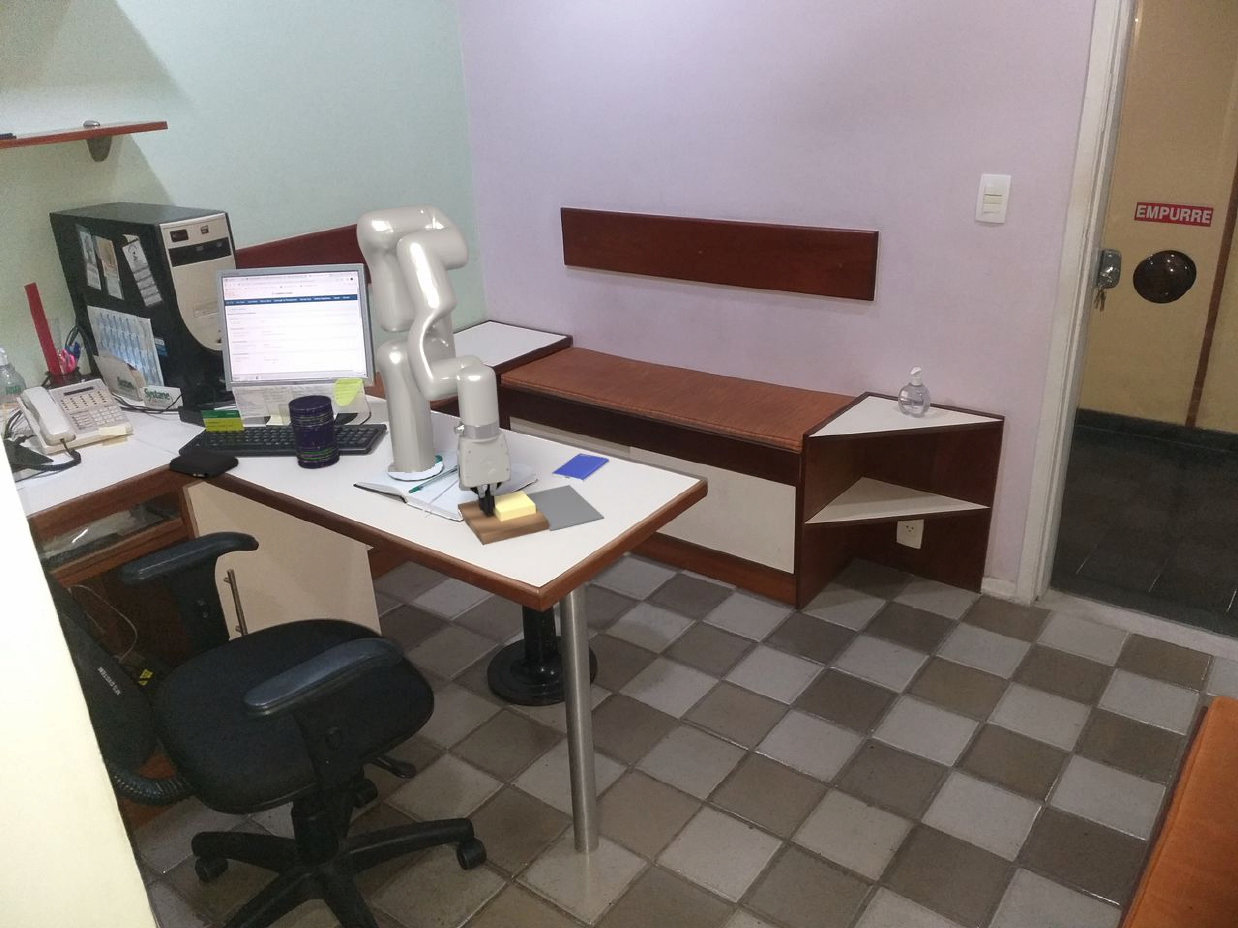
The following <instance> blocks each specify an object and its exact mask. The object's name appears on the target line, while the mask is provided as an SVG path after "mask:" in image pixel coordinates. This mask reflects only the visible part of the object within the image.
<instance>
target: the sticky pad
mask: <svg viewBox="0 0 1238 928" xmlns="http://www.w3.org/2000/svg"><path fill="white" fill-rule="evenodd" d="M512 492H513V491H512ZM512 492H507V493H508V494H507V493H503V494H504V495H503V494H500V496H498V495H494V496H495V497H494V498H495V507H493V513H494V514H495V515H496V516H497V517H498V518H499V520H500V521H505V520H509V519H513V518H517V517H522V516H526V515H530V514H534V513H536V507H535V504H534V503H533V502H532V500H531V499H530V498H529V497H528V496H527V495H526V493H525V492H524V490H517V491H514V492H513V493H512Z"/></svg>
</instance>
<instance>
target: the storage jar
mask: <svg viewBox="0 0 1238 928" xmlns="http://www.w3.org/2000/svg"><path fill="white" fill-rule="evenodd" d="M287 404H288V405H287V406H288V411H289V421H290V426H291V428H292V429H293V435H294V447H295V449H294V450H295V455H296V458H297V464H298V466H299V467H300V468H303V469H305V470H306V469H307V470H317V469H318V470H319V469H324V468H328V467H332V466H334V465H336V464H337V463H338V462H339V461H340V459H341V458H340V454H339V453H340V451H339V450H340V448H339V443H338V438H337V436H336V430H335V424H334V423H335V416H334V408H333V405H332V398H331V397H330V396H327V395H322V394H313V395H310V394H309V395H303V396H301V397H297V398H293V399H292V400H290V401H289V402H288V403H287Z"/></svg>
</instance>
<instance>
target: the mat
mask: <svg viewBox="0 0 1238 928" xmlns="http://www.w3.org/2000/svg"><path fill="white" fill-rule="evenodd" d="M525 494H526V493H525ZM526 495H527V496H528V497H529V498H530V499H531V500H532V502H533V503H534V504H535V507H536V508H537V509H538V510H539V511H540V512H541V513H542V514H543V516H544V517H545V518H546V519H547V520H548V526H549V529H548V530H549V531H550V532H552V531H558V530H561V529H567V528H569V527H570V528H571V527H574V526H578V525H579V526H580V525H582V524H586V523H590V522H595V521H600V520H603V519H605V516H604V515H602V513H600V512H599V511H598V510H597V509H596V508H595V507H594V506H593V505H592V504H591V503H590V502H589V501H588V500H586V499H585V497H583V496H582V495H581V494H580V493H578V492H577V491H576V490H575V488H573V486H571V485H570V484H567V485H563V486H558V487H554V488H550V489H546V490H545V489H544V490H541V491H536V492H532V493H527V494H526Z"/></svg>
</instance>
